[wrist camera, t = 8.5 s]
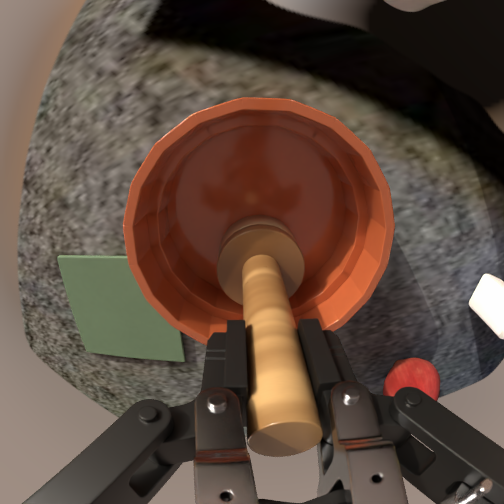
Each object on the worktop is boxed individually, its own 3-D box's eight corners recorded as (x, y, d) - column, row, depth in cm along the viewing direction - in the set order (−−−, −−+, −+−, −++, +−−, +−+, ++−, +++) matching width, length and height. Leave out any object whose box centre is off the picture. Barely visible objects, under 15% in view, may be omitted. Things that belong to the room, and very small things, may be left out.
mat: (59, 255, 20) (56, 257, 20) (172, 255, 21) (170, 258, 20) (88, 349, 24) (86, 352, 24) (185, 359, 24) (185, 361, 24)
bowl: (149, 111, 17) (115, 106, 11) (365, 117, 17) (406, 116, 12) (163, 303, 22) (146, 350, 17) (343, 303, 23) (366, 347, 18)
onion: (429, 338, 25) (466, 392, 18) (409, 377, 27) (437, 430, 20) (383, 343, 25) (418, 405, 17) (365, 383, 27) (389, 443, 20)
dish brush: (218, 214, 19) (181, 386, 6) (299, 215, 19) (397, 372, 6) (220, 285, 21) (203, 474, 8) (293, 285, 21) (347, 464, 8)
